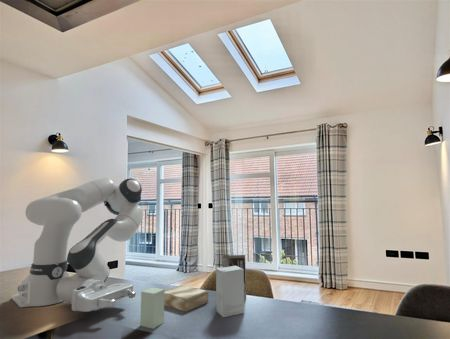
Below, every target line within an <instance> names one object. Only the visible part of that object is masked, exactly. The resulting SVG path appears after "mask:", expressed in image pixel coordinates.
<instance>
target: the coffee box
mask: <svg viewBox="0 0 450 339" xmlns="http://www.w3.org/2000/svg"><path fill="white" fill-rule="evenodd" d="M221 261H222V262H221V265H222V266H221V268H224V267H230V266H238V267H240V268H242V269H244V302H245V301H247V280H246V279H247V274H246V271H247V269H246V255H245V254H223V256H222V258H221Z"/></svg>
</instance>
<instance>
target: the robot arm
mask: <svg viewBox="0 0 450 339" xmlns="http://www.w3.org/2000/svg"><path fill="white" fill-rule="evenodd" d="M142 192H143V189H142V184H140V182H139V181H138V180H137V179H135V178H125V179H124V180H123V181H121V182H120V184H119V185H118V186H117V185H116V184H115V183H114V181H113V180H112V179H110V178H107V177H102V178H98V179H94V180H91V181H88V182H86V183H84V184H83V183H82V184H81V185H78V186H76V187H74V188H70V189H67V190H63V191H60V192H57V193H54V194H50V195H47V196H44V197H41V198H38V199H35V200H33V201H30V202H29V203H28V205H27V206H26V207H25V216H26V220H28V221H29V222H31V223H32V224H35V225H38V226H43V228H42V231H41V233H40V236H39V237H38V238H37V239H36V240H35V242H34V245H33V246H34V249H33V261H32V263H31V264H30V265H31V266H30V269H29V274H28V275H27V276H26V277H25V278H24V279H23V280H22V282H20V285H18V286H17V292H18V293H17V294H14V295H12V297H11V299H12V300H13V302H14V303H15V304H16V305H17V307H19V308H27V307H28V308H29V307H42V306H43V307H44V306H49V305H55V304H59V303H62V302H66V303H69V304H71V311H74V312H82V313H84V312H85V313H88V312H91V311H92V312H93V310H97V309H99V308H102V307H103V308H104V307H109V308H111V307H113V306H115V305H116V302H117V301H120V300H122V299H126V298H127V297H128V299H133V298H136V295H137V293H136V292H135V291H134V285H133V284H132V283H123V282H122V283H121V282H120V283H119V282H118V283H113V284H109V285H106V281H107V279H108V277H109V276H110V270H111V269H110V267H109V266H108V264H107V263H106V260H104V258H103V257H102V254H100V252H99V251H98V250H99V249H98V245H99V244H100V243H101V242H102V241H103V240H104V239H106V238H107V237H108V238H110V239H111V240H113V241H117V242H122V243H123V242H127V241H129V240H130V239H132V237H134V235H135V234H136V232H137V230H138V229H139V227H140V225H141V223H142V220H143V217H144V211H143V209H142V207H141V206H139V204H138V203H139V202H141V201H142ZM102 203H103V205H104V206H105V207H106V209H107V210H108V212H109V213H111V214H113V215H115V218H109V219H107V220H104V221H103V222H102V223H100V224H99V225H98V226H97V227H96V228H94V229H93V230H92V231H91V232H90V233H89V234H88V235H87V236H86V237H84V238H83V239H82V240H79V241H78V242H77V243H75V245H72V247H71V248H70V249H69V251H68V244H69V243H68V242H69V237H70V235H71V232H72V229H73V228H74V226H75V224H76V223H77V222H78V221H79V220H80V219H81V217H82V213H86V212H87V211H89V210H91V209H92V208H95V207H96V206H99V205H100V204H102ZM67 252H68V253H67ZM68 264H69V266H71V268H72V269H74V271H75V272H76V273H75V274H73V275H70V273H68V272H67V270H68Z"/></svg>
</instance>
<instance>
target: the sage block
mask: <svg viewBox="0 0 450 339" xmlns="http://www.w3.org/2000/svg"><path fill="white" fill-rule="evenodd" d="M165 290H166V289H164V288H158V287H152V286H151V287H149V288H147V289H144V290H142V291H141V293H140V317H139V318H140V320H139V321H140V322H139V326H141V327H145V328H148V329H153V330H154V329H155V328H158V327H159V326H160V325H163V324H164V323H165V305H164V291H165Z"/></svg>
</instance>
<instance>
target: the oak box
mask: <svg viewBox="0 0 450 339" xmlns="http://www.w3.org/2000/svg"><path fill="white" fill-rule="evenodd" d="M208 303H209V291H207V290H205V289H200V288H196V287H191V286H187V285H183V284H182V285H181V284H180V285H178V286H175V287H172V288H169V289H165V290H164V307H169V308H173V309H176V310H180V311H182V312H188V311H191V310H193V309H196V308H198V307H201V306H202V305H205V304H208Z"/></svg>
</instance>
